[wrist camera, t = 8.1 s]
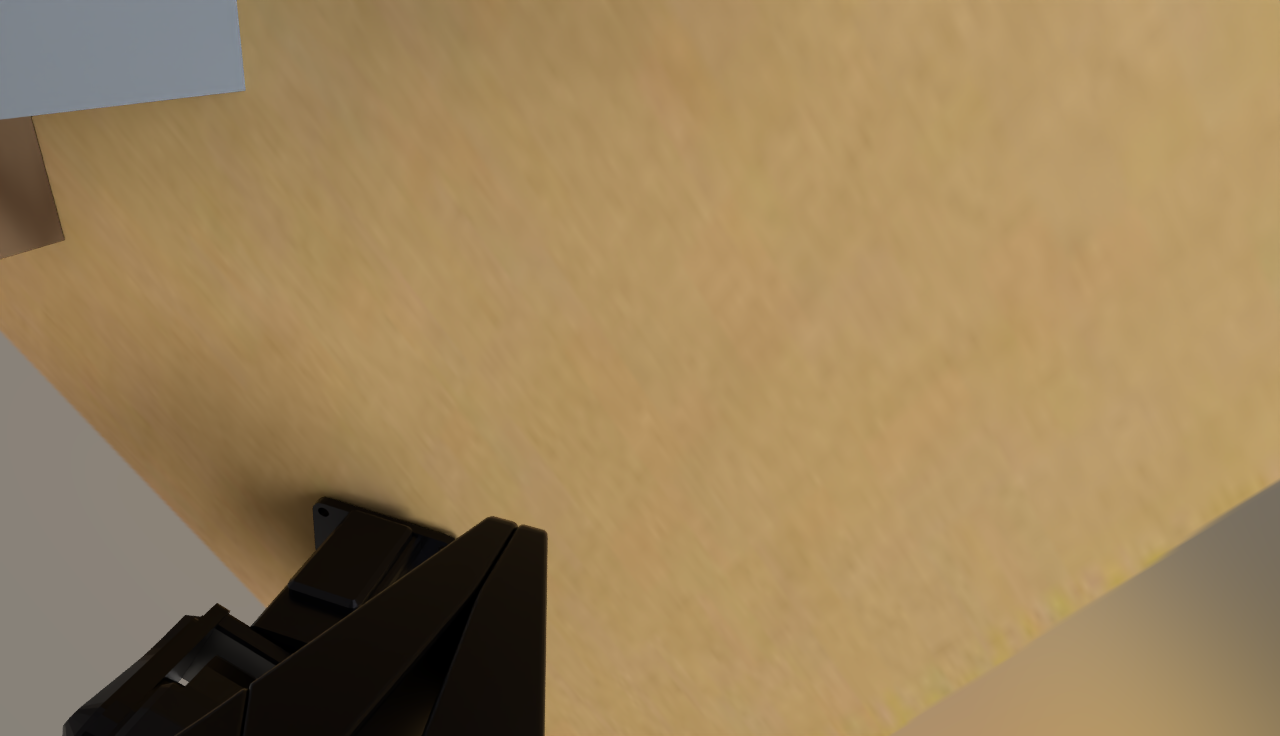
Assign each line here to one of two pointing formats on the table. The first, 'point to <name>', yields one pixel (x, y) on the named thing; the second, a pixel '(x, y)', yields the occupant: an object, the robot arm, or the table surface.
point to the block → (115, 53)
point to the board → (24, 191)
